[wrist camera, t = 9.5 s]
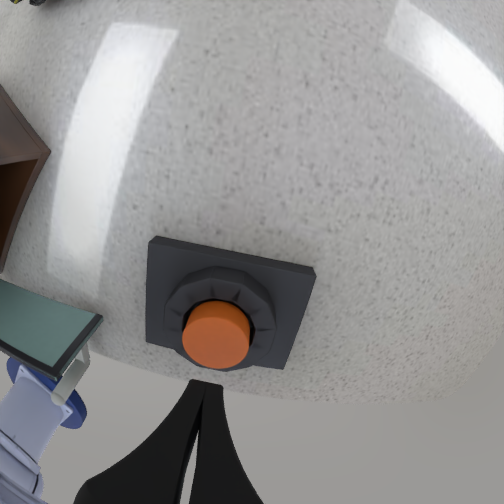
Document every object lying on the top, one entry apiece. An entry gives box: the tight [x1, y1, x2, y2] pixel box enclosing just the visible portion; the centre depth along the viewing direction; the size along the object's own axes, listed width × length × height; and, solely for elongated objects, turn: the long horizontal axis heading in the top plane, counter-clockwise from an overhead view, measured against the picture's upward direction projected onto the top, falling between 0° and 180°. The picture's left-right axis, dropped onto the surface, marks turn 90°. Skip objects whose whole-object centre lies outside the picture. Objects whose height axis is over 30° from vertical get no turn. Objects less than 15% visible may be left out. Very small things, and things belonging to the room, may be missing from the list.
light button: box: [182, 301, 250, 369], centre depth 15 cm, size 4×4×2 cm
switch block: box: [146, 236, 316, 372], centre depth 17 cm, size 10×8×3 cm
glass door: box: [0, 279, 103, 406], centre depth 15 cm, size 5×13×7 cm, turn 80°
